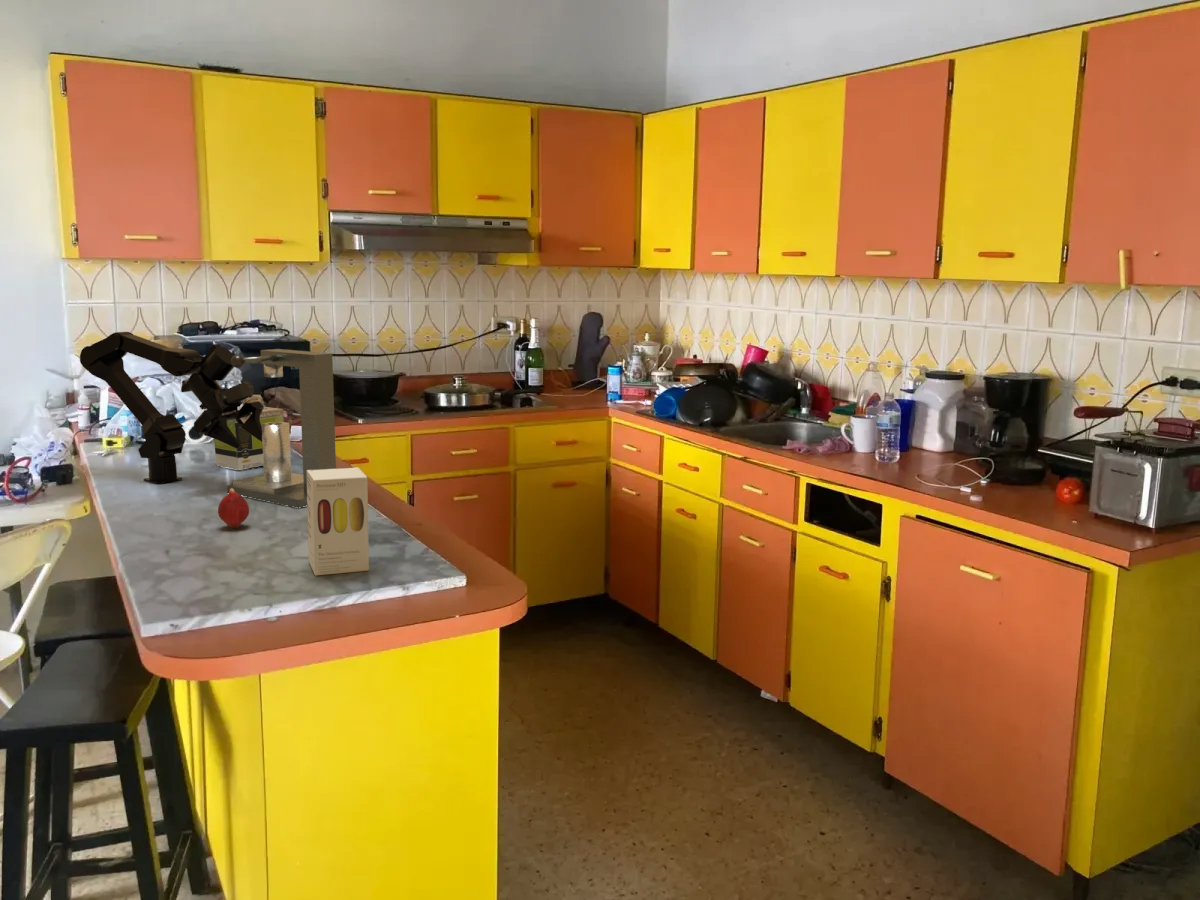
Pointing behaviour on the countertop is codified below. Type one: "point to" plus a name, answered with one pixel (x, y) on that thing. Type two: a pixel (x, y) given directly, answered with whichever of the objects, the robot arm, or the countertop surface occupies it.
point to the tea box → (245, 443)
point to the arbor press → (313, 422)
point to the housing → (276, 451)
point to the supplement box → (337, 520)
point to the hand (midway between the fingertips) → (252, 444)
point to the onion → (233, 509)
